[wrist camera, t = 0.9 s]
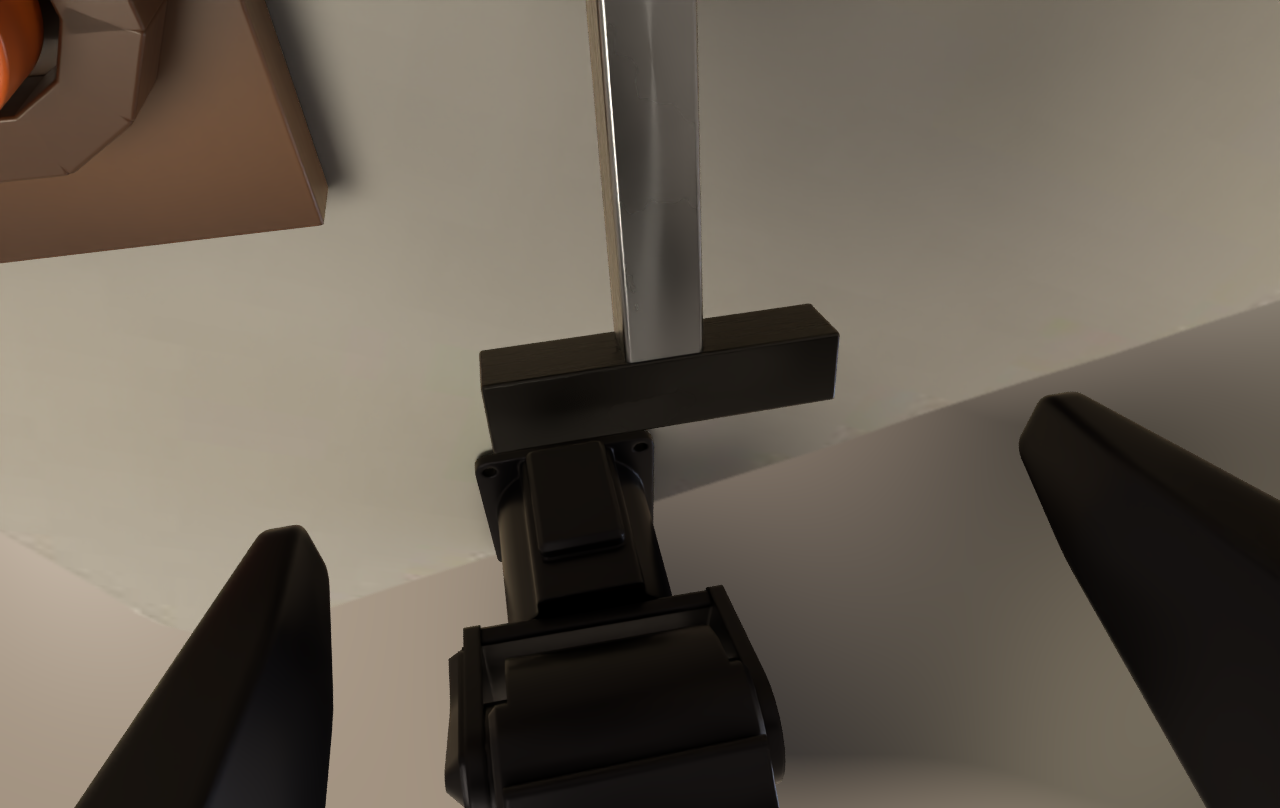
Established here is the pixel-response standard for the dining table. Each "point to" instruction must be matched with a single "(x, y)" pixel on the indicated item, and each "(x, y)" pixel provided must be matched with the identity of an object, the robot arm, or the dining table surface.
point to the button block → (154, 131)
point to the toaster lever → (653, 271)
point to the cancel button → (18, 43)
